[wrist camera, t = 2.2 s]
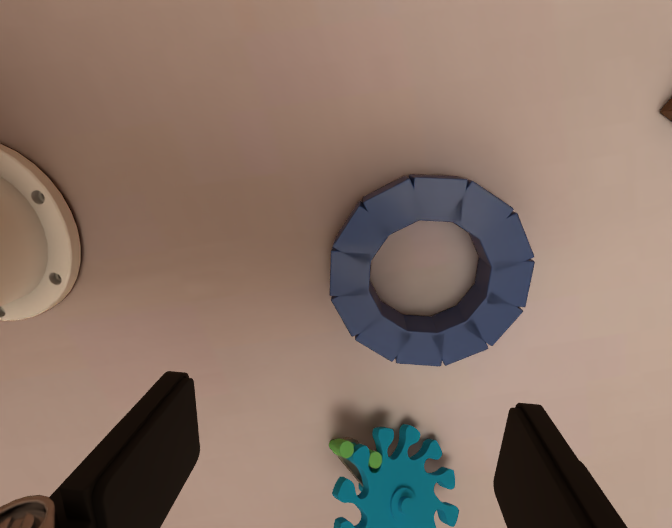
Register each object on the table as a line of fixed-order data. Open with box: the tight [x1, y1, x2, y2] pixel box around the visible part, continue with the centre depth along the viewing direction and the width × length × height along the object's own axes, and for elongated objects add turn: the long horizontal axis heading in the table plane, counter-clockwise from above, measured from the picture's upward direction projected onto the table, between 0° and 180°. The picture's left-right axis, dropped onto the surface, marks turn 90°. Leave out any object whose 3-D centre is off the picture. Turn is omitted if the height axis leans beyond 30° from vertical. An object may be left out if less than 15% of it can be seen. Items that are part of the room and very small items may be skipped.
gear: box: [329, 424, 459, 528], centre depth 27 cm, size 11×6×10 cm
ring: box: [330, 174, 535, 366], centre depth 23 cm, size 12×12×2 cm
